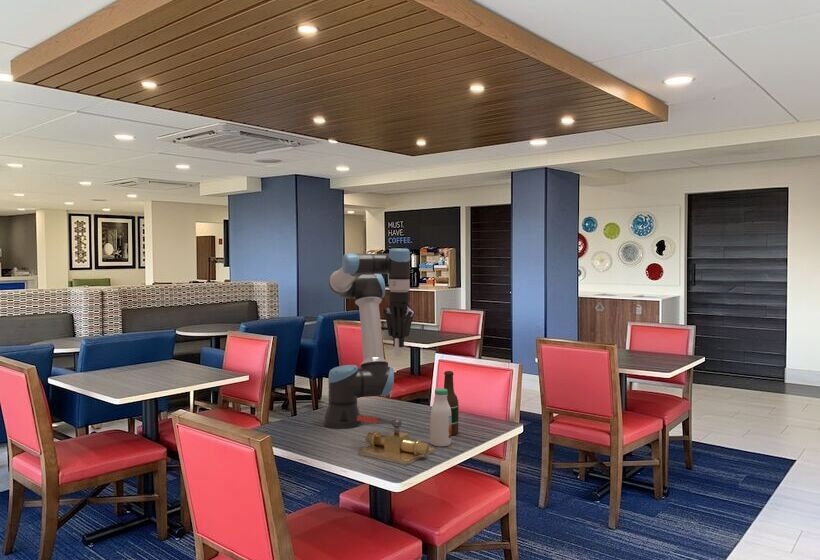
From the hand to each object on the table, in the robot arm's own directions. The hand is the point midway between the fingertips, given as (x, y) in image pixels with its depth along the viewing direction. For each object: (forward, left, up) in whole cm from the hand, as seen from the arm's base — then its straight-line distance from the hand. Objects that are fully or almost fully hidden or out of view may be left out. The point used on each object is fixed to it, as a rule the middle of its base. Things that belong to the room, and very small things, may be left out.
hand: (398, 355), depth 227 cm
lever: (0, -11, -22) cm, 25 cm away
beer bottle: (+8, +22, -32) cm, 40 cm away
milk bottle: (+13, +8, -32) cm, 36 cm away
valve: (+6, -10, -32) cm, 34 cm away
